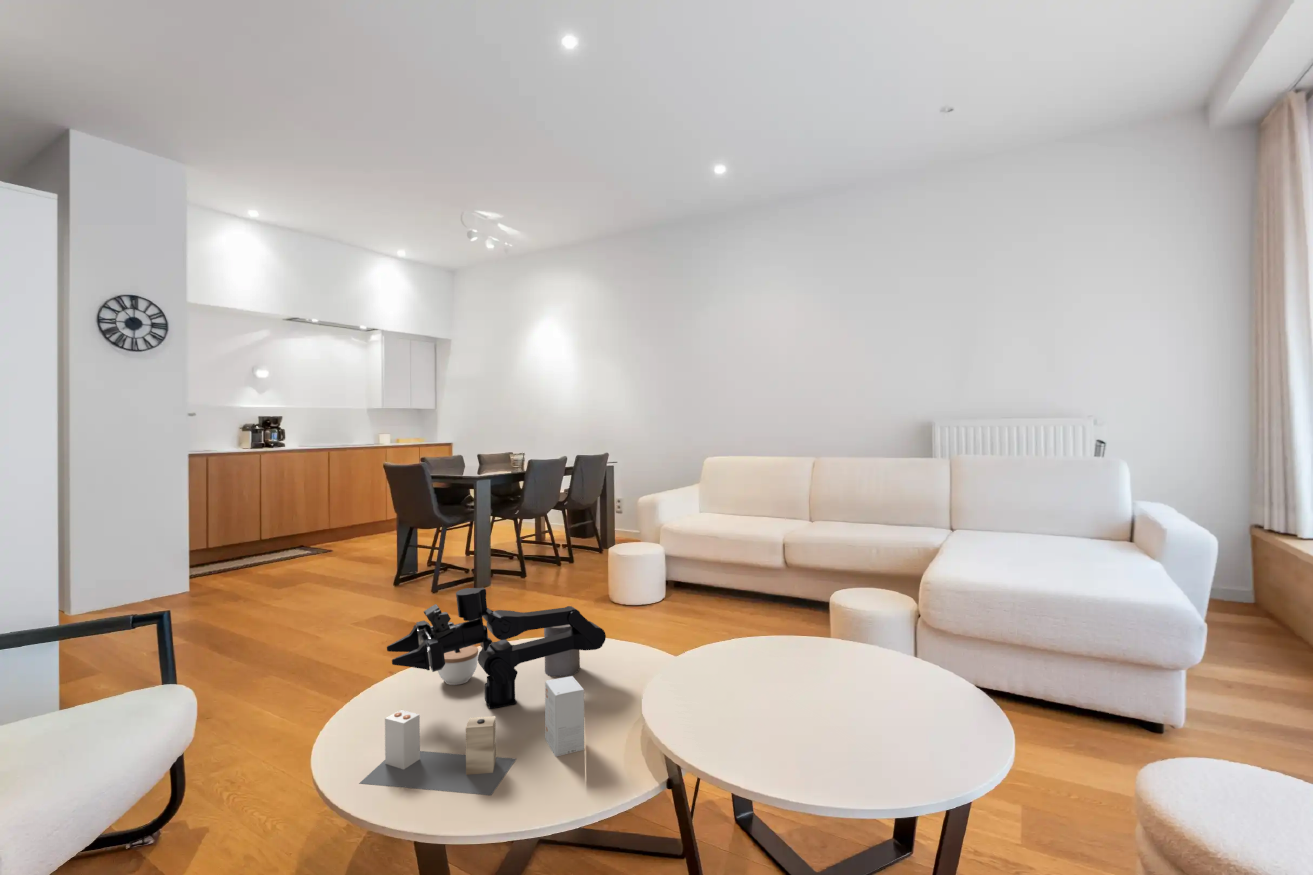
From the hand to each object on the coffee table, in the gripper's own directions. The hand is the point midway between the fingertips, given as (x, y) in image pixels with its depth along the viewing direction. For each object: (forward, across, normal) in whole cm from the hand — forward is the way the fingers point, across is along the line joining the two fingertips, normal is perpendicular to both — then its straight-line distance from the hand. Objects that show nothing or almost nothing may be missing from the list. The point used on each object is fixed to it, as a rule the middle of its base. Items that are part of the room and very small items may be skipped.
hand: (389, 655), depth 131 cm
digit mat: (-4, +24, +17) cm, 30 cm away
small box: (-29, +28, +20) cm, 44 cm away
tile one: (-12, +28, +17) cm, 34 cm away
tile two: (+1, +17, +16) cm, 23 cm away
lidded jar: (-17, -19, +18) cm, 31 cm away
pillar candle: (-43, -10, +21) cm, 49 cm away
